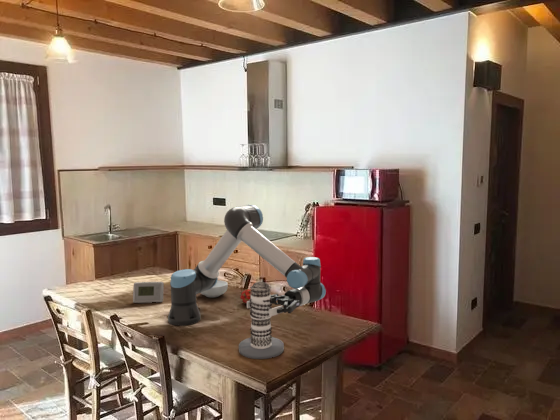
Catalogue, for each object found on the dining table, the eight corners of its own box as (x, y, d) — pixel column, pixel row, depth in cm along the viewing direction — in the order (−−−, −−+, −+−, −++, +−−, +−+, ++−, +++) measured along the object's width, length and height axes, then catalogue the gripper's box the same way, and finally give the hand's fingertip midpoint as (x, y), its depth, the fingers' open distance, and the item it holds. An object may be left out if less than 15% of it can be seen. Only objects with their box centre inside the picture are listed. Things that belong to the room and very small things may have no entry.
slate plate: (237, 359, 173) (237, 354, 173) (239, 341, 191) (239, 336, 190) (285, 358, 174) (285, 353, 174) (282, 340, 192) (282, 335, 191)
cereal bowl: (230, 298, 252) (230, 285, 251) (200, 301, 247) (199, 288, 246) (225, 290, 268) (224, 278, 267) (196, 292, 263) (196, 280, 262)
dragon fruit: (242, 303, 247) (257, 311, 239) (233, 297, 241) (249, 305, 233) (249, 289, 249) (265, 297, 241) (241, 283, 243) (257, 291, 235)
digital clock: (131, 303, 244) (130, 284, 242) (138, 298, 252) (137, 280, 251) (160, 304, 241) (159, 285, 240) (166, 299, 250) (166, 280, 249)
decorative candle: (271, 339, 187) (270, 279, 185) (274, 348, 178) (273, 285, 176) (249, 340, 186) (248, 280, 184) (250, 349, 177) (249, 287, 174)
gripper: (318, 313, 185) (279, 326, 171) (276, 299, 203) (238, 310, 189) (318, 295, 184) (279, 306, 170) (276, 283, 202) (238, 293, 188)
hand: (258, 308), depth 179 cm, fingers open, 13 cm apart
